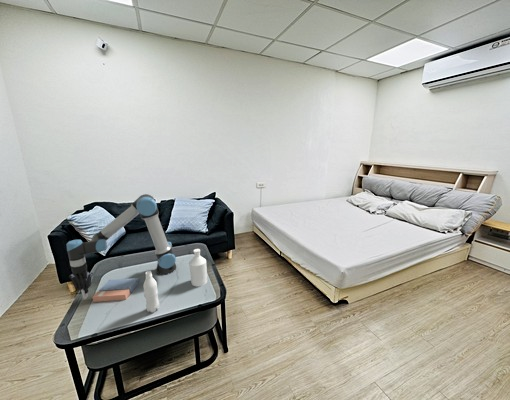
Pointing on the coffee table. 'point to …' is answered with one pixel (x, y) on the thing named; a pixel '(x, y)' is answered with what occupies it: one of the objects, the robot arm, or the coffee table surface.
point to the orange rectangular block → (111, 295)
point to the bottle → (198, 269)
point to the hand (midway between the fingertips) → (85, 297)
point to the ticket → (120, 284)
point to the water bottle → (151, 293)
